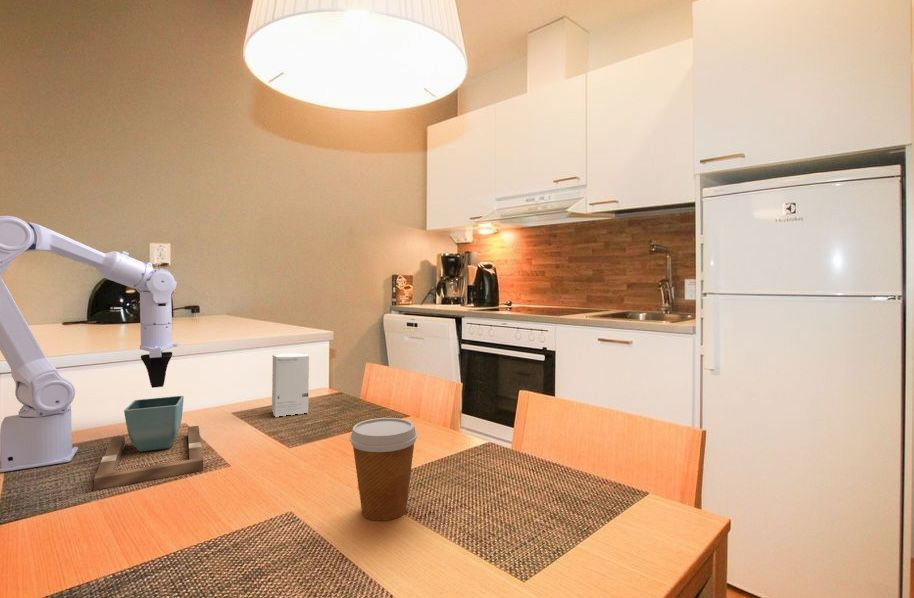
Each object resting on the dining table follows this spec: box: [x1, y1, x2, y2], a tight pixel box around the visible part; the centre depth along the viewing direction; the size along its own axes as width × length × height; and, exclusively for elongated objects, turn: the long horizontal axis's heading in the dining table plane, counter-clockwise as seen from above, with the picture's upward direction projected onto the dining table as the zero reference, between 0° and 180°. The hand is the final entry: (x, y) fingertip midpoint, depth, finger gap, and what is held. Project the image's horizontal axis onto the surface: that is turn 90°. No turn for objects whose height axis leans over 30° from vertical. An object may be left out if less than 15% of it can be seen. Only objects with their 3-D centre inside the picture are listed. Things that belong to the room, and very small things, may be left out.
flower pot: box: [123, 395, 185, 453], centre depth 92 cm, size 9×9×9 cm
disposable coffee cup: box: [348, 417, 419, 522], centre depth 66 cm, size 10×10×12 cm
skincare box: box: [271, 353, 310, 418], centre depth 117 cm, size 8×6×15 cm
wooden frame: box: [93, 425, 204, 491], centre depth 86 cm, size 15×24×2 cm, turn 31°
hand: (157, 386), depth 101 cm, fingers closed
